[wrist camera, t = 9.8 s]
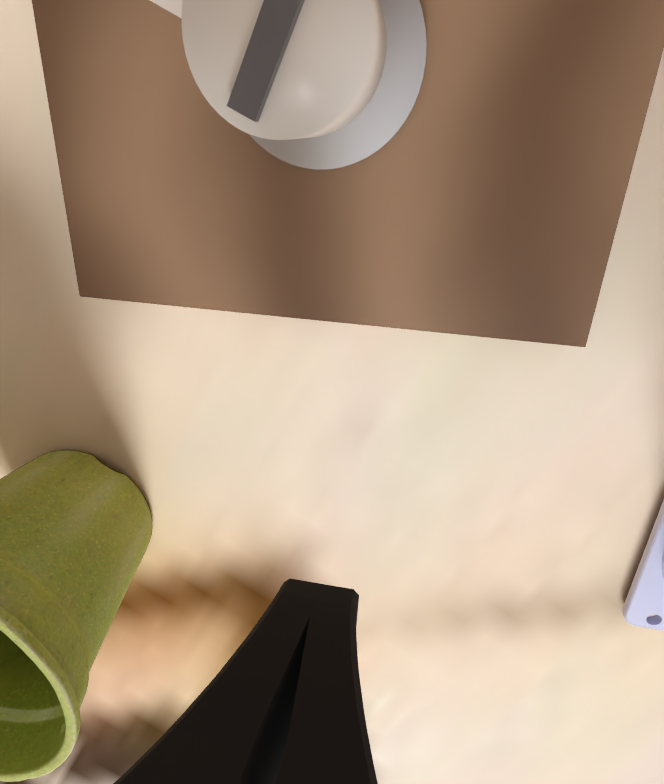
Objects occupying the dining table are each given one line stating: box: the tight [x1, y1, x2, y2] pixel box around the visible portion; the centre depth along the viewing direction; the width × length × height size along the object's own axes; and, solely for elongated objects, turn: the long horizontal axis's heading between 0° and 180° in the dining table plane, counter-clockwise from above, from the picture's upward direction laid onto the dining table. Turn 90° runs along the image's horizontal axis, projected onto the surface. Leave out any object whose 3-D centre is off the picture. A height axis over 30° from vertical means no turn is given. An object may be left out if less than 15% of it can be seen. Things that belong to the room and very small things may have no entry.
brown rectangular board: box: [32, 0, 664, 347], centre depth 14 cm, size 16×14×3 cm
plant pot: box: [0, 450, 152, 782], centre depth 20 cm, size 9×9×9 cm
